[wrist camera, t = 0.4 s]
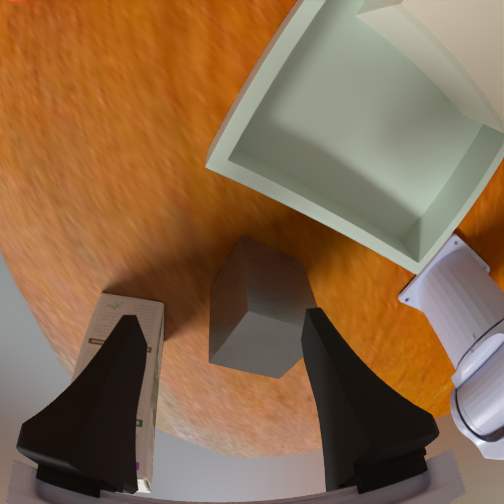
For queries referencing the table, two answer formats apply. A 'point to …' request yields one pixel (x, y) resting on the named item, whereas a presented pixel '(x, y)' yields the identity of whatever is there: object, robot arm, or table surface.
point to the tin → (258, 310)
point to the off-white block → (450, 48)
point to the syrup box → (153, 330)
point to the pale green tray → (355, 136)
